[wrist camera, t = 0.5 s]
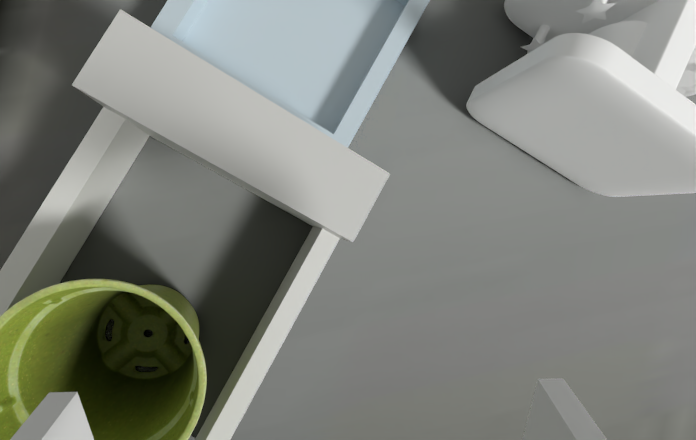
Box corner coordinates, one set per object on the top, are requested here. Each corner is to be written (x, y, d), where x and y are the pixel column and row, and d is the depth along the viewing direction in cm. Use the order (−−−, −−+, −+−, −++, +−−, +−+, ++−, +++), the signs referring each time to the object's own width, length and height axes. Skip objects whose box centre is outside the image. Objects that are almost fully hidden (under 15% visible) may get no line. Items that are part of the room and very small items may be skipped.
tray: (334, 164, 28) (340, 160, 25) (153, 57, 25) (141, 40, 23) (421, 8, 29) (436, -12, 26) (258, -110, 26) (257, -143, 24)
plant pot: (61, 406, 24) (-47, 509, 16) (72, 254, 24) (-31, 275, 16) (219, 401, 26) (198, 490, 18) (229, 261, 26) (212, 283, 18)
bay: (212, 445, 26) (190, 543, 18) (-10, 354, 23) (-147, 424, 16) (354, 185, 28) (390, 173, 20) (164, 72, 25) (120, 9, 17)
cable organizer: (441, 107, 29) (554, 39, 18) (501, -12, 30) (643, -147, 19) (591, 201, 32) (769, 193, 21) (641, 90, 33) (837, 26, 22)
